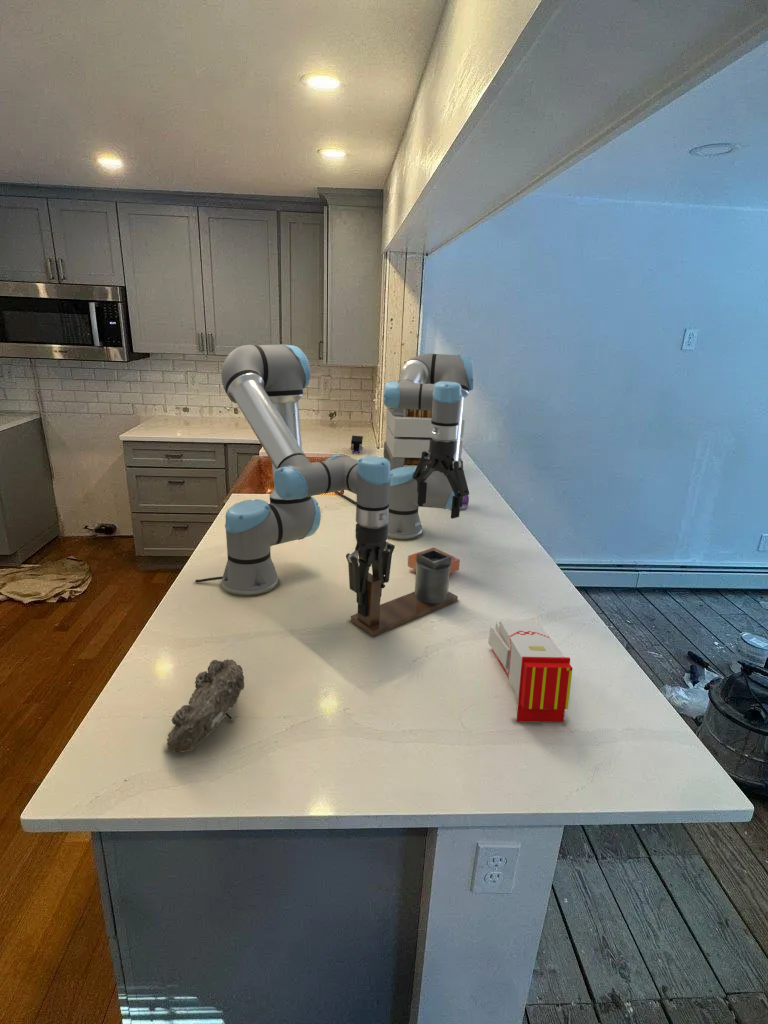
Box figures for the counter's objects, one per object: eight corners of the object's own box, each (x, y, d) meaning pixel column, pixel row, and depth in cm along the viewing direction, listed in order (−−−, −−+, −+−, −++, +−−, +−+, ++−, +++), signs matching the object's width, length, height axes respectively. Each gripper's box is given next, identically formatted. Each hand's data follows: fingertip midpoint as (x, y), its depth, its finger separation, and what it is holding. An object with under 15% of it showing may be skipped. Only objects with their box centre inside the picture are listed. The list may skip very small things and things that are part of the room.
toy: (535, 605, 135) (581, 664, 106) (530, 657, 138) (574, 728, 108) (484, 604, 135) (517, 662, 105) (480, 656, 137) (511, 727, 108)
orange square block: (432, 584, 164) (434, 568, 162) (407, 571, 172) (408, 555, 170) (458, 574, 171) (460, 559, 169) (432, 562, 179) (433, 547, 177)
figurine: (455, 512, 224) (459, 475, 218) (441, 504, 232) (444, 468, 227) (475, 509, 228) (478, 473, 223) (460, 501, 236) (463, 466, 231)
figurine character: (362, 457, 305) (363, 447, 318) (362, 443, 301) (363, 434, 315) (350, 456, 304) (351, 447, 318) (350, 443, 301) (351, 434, 314)
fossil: (192, 660, 117) (244, 628, 112) (224, 691, 120) (276, 661, 115) (142, 746, 98) (202, 712, 93) (182, 779, 101) (242, 748, 96)
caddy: (373, 636, 137) (375, 586, 132) (350, 621, 143) (351, 572, 139) (457, 601, 156) (461, 556, 151) (434, 588, 162) (437, 545, 157)
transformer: (382, 463, 289) (386, 382, 275) (445, 464, 293) (451, 384, 279) (390, 482, 257) (394, 392, 243) (460, 483, 261) (468, 394, 247)
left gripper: (354, 536, 124) (351, 629, 132) (408, 521, 134) (402, 608, 142) (334, 525, 130) (333, 615, 138) (387, 512, 140) (383, 597, 148)
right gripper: (403, 431, 164) (399, 500, 171) (468, 450, 146) (460, 526, 154) (421, 428, 169) (417, 496, 176) (487, 446, 151) (479, 520, 159)
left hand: (368, 612), depth 140 cm, fingers closed on caddy, 3 cm apart
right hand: (437, 510), depth 165 cm, fingers open, 13 cm apart
